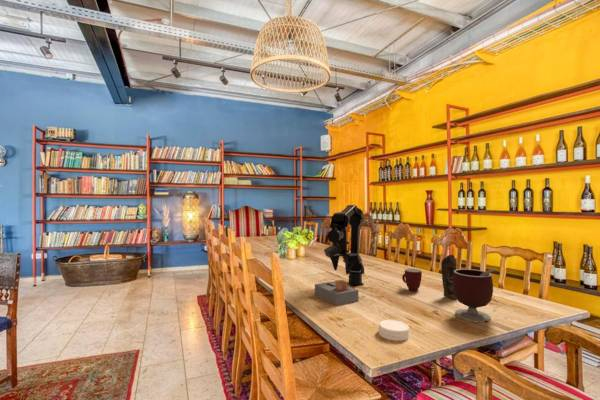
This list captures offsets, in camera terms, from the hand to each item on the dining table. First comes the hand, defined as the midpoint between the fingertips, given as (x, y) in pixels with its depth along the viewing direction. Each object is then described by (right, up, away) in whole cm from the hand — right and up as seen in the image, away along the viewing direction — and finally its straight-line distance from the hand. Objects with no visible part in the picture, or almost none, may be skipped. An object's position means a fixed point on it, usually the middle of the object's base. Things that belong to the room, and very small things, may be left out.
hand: (341, 272), depth 147 cm
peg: (-1, -11, -6) cm, 13 cm away
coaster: (+12, -12, -42) cm, 45 cm away
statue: (+52, -11, -2) cm, 53 cm away
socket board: (-3, -11, -2) cm, 12 cm away
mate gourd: (+48, -11, -27) cm, 56 cm away
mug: (+37, -12, +10) cm, 40 cm away
